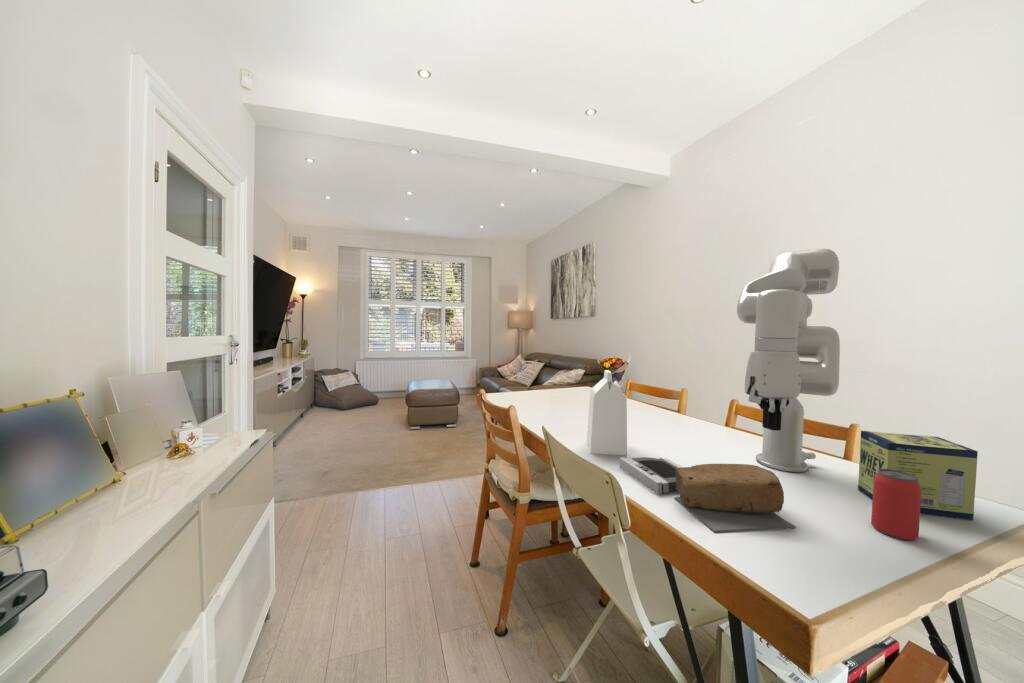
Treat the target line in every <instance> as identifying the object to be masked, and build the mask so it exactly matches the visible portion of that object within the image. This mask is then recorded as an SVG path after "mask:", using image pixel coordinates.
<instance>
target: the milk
mask: <svg viewBox="0 0 1024 683" xmlns="http://www.w3.org/2000/svg"><path fill="white" fill-rule="evenodd" d="M612 375H613V374H612V371H610V369H605V370H604V373H603V378H602V379H600V380H599V381H598V382H597V383H596V384H595V385H594V386H593V387H592V388H591V389H590V391H589V400H588V416H587V430H586V443H587V444H586V445H587V447H588V450H589V453H590V454H597V455H598V454H599V455H616V456H617V455H619V456H628V412H627V411H628V408H627V406H628V404H627V403H628V400H627V395H626V394H625V392H623V391H622V390H621V388H622V386H621V385H620V384H619V382H618V381H617V380H615V381H614V382H613V376H612Z"/></svg>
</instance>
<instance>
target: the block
mask: <svg viewBox="0 0 1024 683" xmlns="http://www.w3.org/2000/svg"><path fill="white" fill-rule="evenodd" d="M681 467H682V468H677V469H676V471H675V472H676V474H675V476H676V483H677V484H676V487H677V489H676V491H677V493H678V494H679V497H680V498H681V499H682V501H683V503H684V504H685V505H686V506H688V507H701V508H703V509H709V510H720V511H739V512H773V513H777V512H778V513H779V512H780V511H782V509H783V508H784V507H783V506H784V503H785V496H784V493H785V492H784V489H783V486H782V483H781V480H780V479H779V476H777V475H776V474H775V472H774V471H771V470H769V469H767V468H764V467H761V466H758V465H753V464H744V463H705V464H704V463H703V464H702V463H701V464H695V465H691V466H685V467H684V466H681Z"/></svg>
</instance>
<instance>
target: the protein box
mask: <svg viewBox="0 0 1024 683" xmlns="http://www.w3.org/2000/svg"><path fill="white" fill-rule="evenodd" d="M859 444H860V445H859V463H858V485H857V490H858V491H859V492H861V493H862V494H863V495H864V496H866V497H868V498H869V499H871V500H872V501H873V484H874V478H875V475H876V474H877V473H878V470H879V469H892V470H898V471H902V472H906V473H909V474H912V475H914V476H916V477H917V478H918V482H919V484H920V487H921V507H920V515H928V516H934V517H935V516H936V517H941V518H942V517H944V518H950V519H956V520H957V519H958V520H963V521H965V520H966V521H974V515H975V514H974V513H975V512H974V511H975V499H976V498H975V496H976V485H977V484H976V483H977V482H976V481H977V466H978V455H979V454H978V452H979V451H978V450H975V449H972V448H970V447H967V446H964V445H962V444H958V443H956V442H953V441H950V440H948V439H945V438H941V437H939V436H930V435H921V434H920V435H917V434H907V433H906V434H904V433H895V432H893V433H892V432H891V433H890V432H880V431H868V430H861V431H860V442H859Z"/></svg>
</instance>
